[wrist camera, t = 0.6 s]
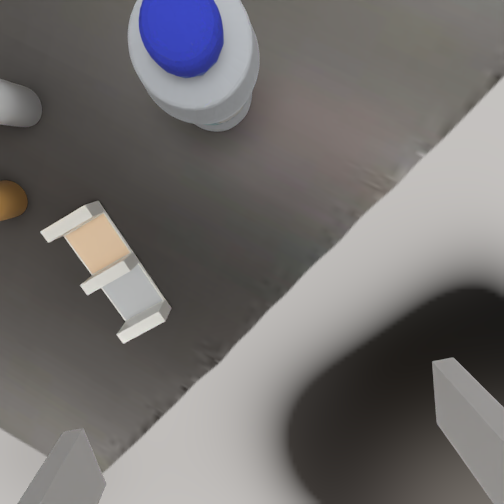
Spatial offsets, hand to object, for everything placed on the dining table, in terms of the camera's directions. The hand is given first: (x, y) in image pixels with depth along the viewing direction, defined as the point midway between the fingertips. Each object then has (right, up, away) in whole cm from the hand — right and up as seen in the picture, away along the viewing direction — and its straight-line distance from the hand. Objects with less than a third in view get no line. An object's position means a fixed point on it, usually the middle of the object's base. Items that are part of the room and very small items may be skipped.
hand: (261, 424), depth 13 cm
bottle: (-4, +21, +20) cm, 29 cm away
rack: (-14, +5, +24) cm, 28 cm away
